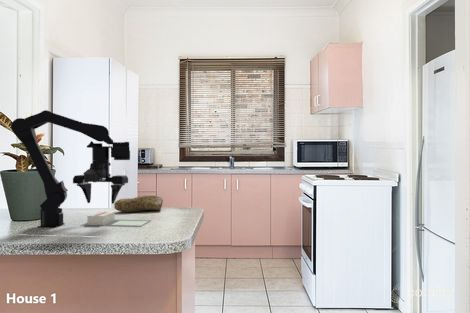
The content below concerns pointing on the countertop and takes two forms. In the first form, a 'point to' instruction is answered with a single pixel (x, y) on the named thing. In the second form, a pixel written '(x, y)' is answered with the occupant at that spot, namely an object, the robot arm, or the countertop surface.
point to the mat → (124, 223)
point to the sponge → (139, 204)
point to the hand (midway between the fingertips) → (100, 203)
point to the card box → (100, 218)
